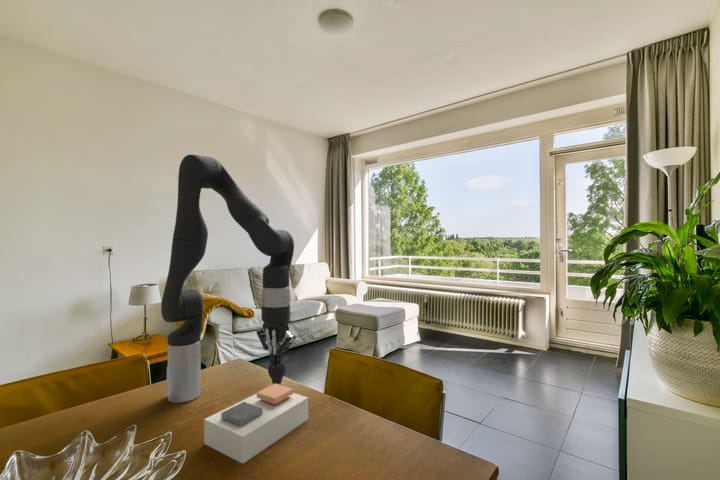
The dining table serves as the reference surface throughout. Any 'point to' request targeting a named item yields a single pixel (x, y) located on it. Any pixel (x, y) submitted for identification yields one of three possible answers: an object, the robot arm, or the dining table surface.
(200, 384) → the robot arm
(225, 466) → the dining table surface
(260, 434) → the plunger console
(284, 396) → the terracotta plunger
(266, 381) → the dining table surface
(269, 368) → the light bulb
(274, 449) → the dining table surface
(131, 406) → the dining table surface
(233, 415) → the graphite plunger
